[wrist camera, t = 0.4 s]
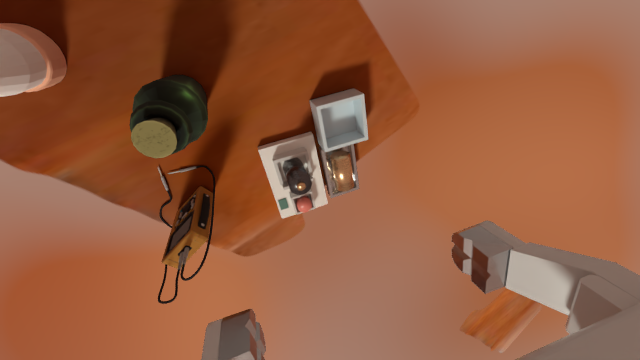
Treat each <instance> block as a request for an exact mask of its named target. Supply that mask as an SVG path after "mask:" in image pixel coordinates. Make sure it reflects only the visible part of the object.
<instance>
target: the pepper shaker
mask: <svg viewBox="0 0 640 360" xmlns="http://www.w3.org/2000/svg"><path fill="white" fill-rule="evenodd" d="M66 70H67V65H66V60H65V57H64V55H63V53H62V51H61V50H60V48H59V47H58V46H57V45H56V43H55V42H54V41H53V40H52V39H51V38H49V37H48V36H47V35H45V34H44V33H42V32H41V31H39V30H37V29H34V28H32V27H30V26H27V25H22V24H16V23H0V97H2V96H10V95H16V94H19V93H22V92H32V91H39V90H42V89H44V88H47V87H50V86H53V85H55V84H57V83H59V82H61V80H62V79H63V78H64V76H65V75H66Z"/></svg>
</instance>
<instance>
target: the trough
mask: <svg viewBox="0 0 640 360" xmlns="http://www.w3.org/2000/svg"><path fill="white" fill-rule="evenodd" d="M319 151H320V156H321V161H322V166H323V171H324V176H325V180H326V185H327V190H328V194H329V196H330V197H331V198H333V197H336V196H339V195H342V194H345V193H348V192H351V191H354V190H357V189H359V183H358V174H357V166H356V158H355V151H354V144H351V145H348V146H345V147H341V148H338V149H335V150H331V151H328V152H324V150H323V149H322V147H321V146H320V147H319ZM337 151H347V152H349V153H350V158H351V165H352V172H353V179H354V187H353V188H352V189H351V190H349V191H338V190H337V189H336V187H335V182H334V176H333V171H332V166H331V160H330V155H331V154H333V153H334V152H337Z"/></svg>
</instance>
